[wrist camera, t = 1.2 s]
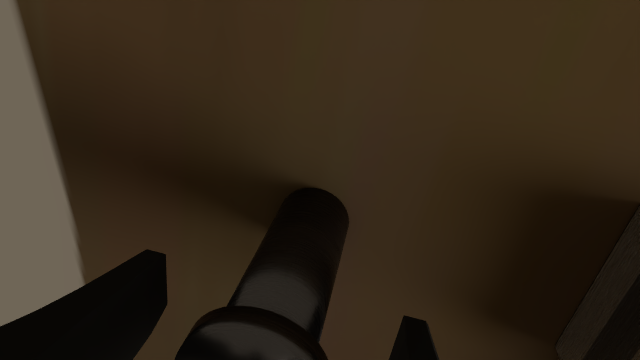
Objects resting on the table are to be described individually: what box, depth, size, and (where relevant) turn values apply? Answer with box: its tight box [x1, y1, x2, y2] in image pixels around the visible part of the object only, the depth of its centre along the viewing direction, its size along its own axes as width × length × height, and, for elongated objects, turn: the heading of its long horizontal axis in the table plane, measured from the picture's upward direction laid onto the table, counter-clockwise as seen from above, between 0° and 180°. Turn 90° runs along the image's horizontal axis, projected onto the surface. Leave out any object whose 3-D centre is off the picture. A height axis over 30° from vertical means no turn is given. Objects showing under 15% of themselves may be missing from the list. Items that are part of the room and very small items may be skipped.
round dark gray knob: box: [175, 188, 349, 360], centre depth 14 cm, size 4×4×8 cm
